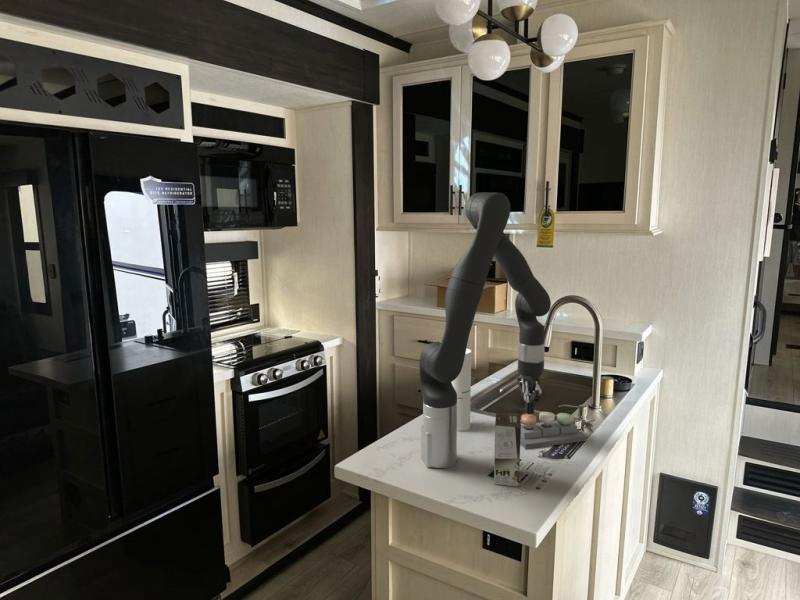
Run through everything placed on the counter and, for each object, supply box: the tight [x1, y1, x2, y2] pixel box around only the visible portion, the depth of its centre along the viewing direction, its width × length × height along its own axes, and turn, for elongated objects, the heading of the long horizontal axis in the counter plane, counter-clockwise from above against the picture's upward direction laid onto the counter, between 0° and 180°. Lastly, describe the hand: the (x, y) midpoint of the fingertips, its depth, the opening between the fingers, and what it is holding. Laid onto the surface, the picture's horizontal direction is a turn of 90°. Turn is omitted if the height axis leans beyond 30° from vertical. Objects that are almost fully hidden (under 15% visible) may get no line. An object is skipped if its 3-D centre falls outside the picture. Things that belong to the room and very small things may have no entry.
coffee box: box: [493, 412, 522, 487], centre depth 142 cm, size 9×6×16 cm
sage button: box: [556, 412, 573, 426], centre depth 167 cm, size 4×4×4 cm
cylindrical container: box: [451, 347, 472, 432], centre depth 172 cm, size 7×7×25 cm
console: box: [520, 419, 588, 450], centre depth 166 cm, size 20×12×3 cm, turn 104°
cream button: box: [538, 411, 556, 427], centre depth 165 cm, size 4×4×4 cm
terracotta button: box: [520, 413, 537, 429], centre depth 164 cm, size 4×4×4 cm
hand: (529, 413), depth 163 cm, fingers closed
